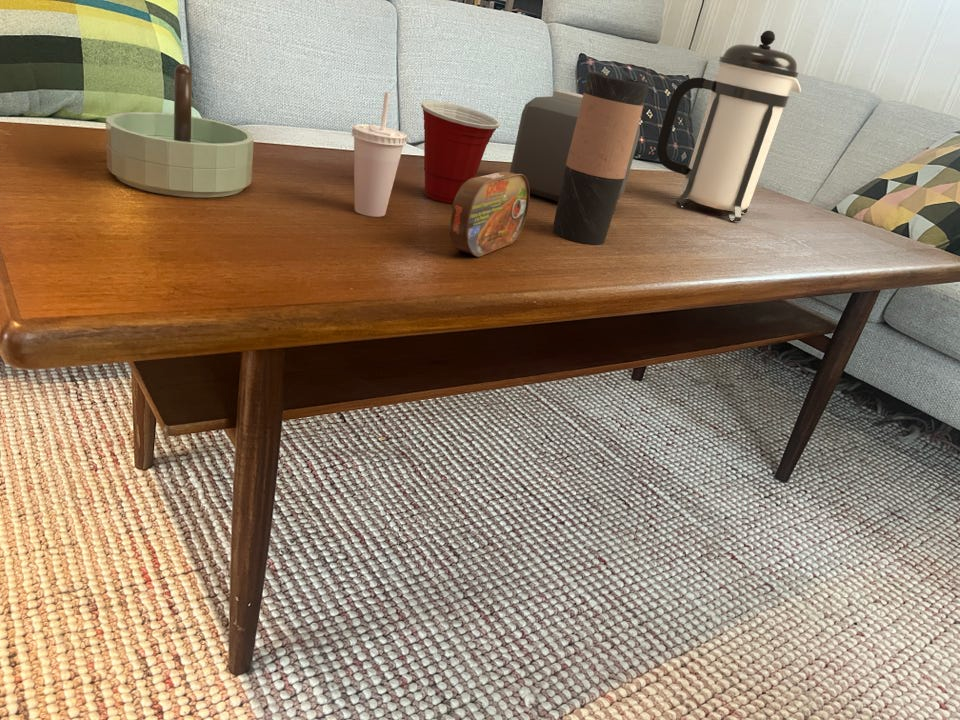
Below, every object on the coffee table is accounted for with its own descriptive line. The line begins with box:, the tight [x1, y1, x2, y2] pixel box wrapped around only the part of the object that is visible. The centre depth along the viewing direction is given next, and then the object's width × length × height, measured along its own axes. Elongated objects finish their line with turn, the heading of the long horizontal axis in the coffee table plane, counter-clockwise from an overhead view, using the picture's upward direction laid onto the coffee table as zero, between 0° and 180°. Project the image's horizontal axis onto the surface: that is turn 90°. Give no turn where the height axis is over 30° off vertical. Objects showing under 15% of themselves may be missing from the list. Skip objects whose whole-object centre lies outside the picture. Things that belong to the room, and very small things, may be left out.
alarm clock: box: [509, 89, 641, 203], centre depth 112 cm, size 16×11×16 cm
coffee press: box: [656, 30, 802, 222], centre depth 125 cm, size 17×16×30 cm
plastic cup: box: [420, 100, 501, 205], centre depth 99 cm, size 11×11×12 cm
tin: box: [449, 171, 531, 258], centre depth 82 cm, size 15×3×8 cm, turn 151°
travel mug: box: [552, 70, 649, 245], centre depth 93 cm, size 8×8×20 cm
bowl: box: [105, 111, 255, 199], centre depth 84 cm, size 15×15×6 cm
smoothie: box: [350, 91, 408, 218], centre depth 85 cm, size 6×6×14 cm
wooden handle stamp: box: [173, 63, 193, 142], centre depth 82 cm, size 6×6×12 cm
